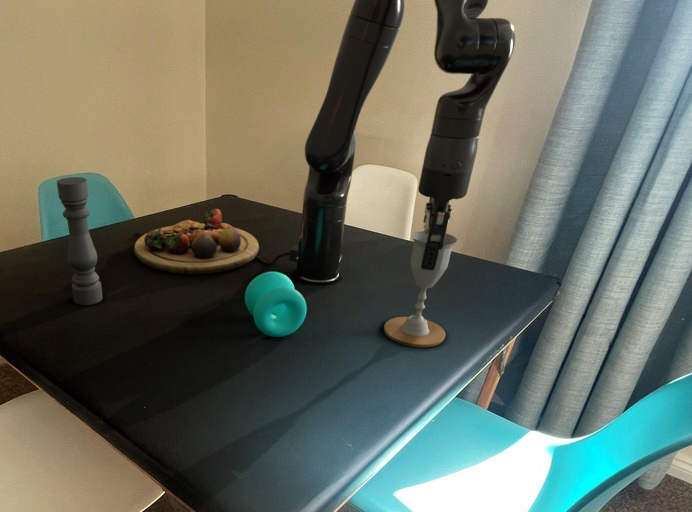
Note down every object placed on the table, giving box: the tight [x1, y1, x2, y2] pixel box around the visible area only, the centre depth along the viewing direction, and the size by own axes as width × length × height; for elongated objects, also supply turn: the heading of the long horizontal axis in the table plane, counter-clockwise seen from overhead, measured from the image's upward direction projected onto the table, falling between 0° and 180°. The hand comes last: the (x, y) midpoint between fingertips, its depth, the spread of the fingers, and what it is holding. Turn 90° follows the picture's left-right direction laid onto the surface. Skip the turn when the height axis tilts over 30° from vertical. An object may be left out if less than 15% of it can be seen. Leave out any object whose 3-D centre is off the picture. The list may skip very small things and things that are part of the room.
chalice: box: [401, 230, 458, 336], centre depth 100 cm, size 7×7×18 cm
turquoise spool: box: [244, 271, 308, 338], centre depth 105 cm, size 10×10×10 cm
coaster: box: [383, 316, 446, 348], centre depth 105 cm, size 11×11×1 cm
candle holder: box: [56, 176, 104, 306], centre depth 113 cm, size 6×6×25 cm
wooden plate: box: [133, 208, 260, 275], centre depth 140 cm, size 32×32×8 cm
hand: (427, 260), depth 97 cm, fingers open, 8 cm apart
